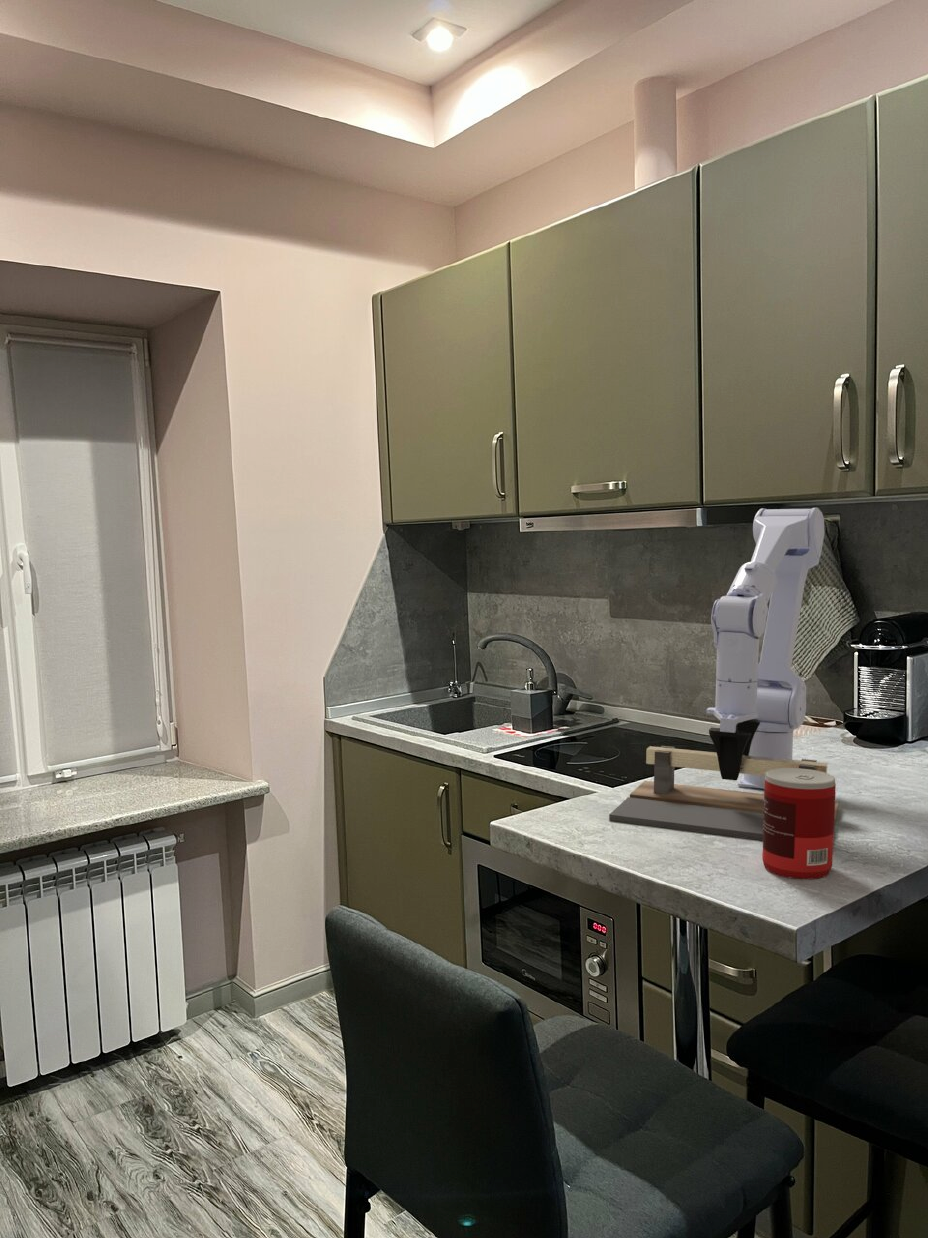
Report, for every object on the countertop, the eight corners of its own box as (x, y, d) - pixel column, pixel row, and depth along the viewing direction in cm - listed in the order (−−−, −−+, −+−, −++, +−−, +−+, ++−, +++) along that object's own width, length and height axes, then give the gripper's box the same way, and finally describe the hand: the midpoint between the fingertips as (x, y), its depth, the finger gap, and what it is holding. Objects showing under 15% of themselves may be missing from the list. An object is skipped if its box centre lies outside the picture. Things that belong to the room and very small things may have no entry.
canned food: (837, 865, 112) (841, 772, 112) (825, 885, 106) (829, 787, 105) (770, 853, 116) (773, 764, 115) (754, 872, 109) (757, 778, 109)
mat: (627, 802, 139) (628, 797, 139) (834, 827, 127) (834, 821, 127) (609, 820, 130) (609, 814, 130) (829, 848, 118) (829, 842, 118)
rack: (644, 787, 148) (645, 741, 147) (838, 809, 136) (840, 759, 136) (629, 801, 140) (630, 752, 139) (834, 825, 128) (836, 772, 128)
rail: (649, 760, 144) (649, 746, 144) (826, 778, 134) (827, 763, 133) (646, 763, 142) (646, 749, 142) (825, 782, 132) (826, 766, 131)
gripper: (716, 672, 145) (714, 760, 146) (698, 684, 132) (696, 781, 133) (765, 675, 142) (762, 765, 143) (751, 688, 129) (748, 787, 130)
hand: (733, 773), depth 138 cm, fingers open, 7 cm apart
